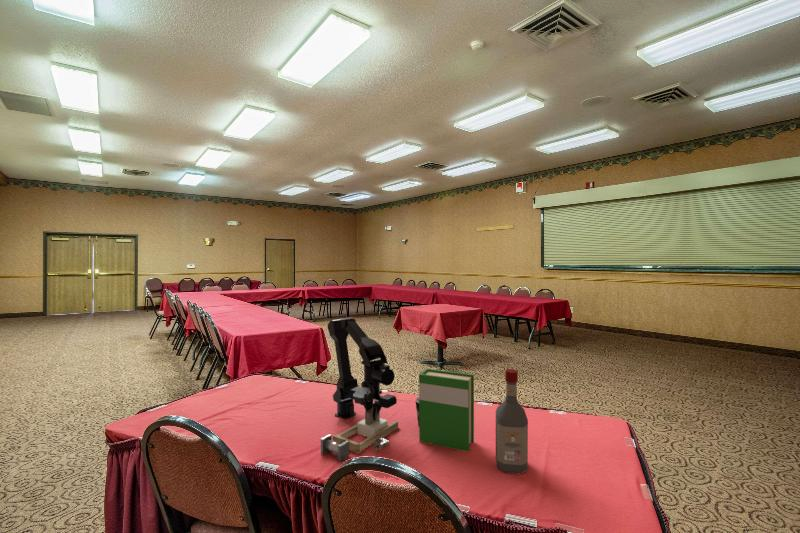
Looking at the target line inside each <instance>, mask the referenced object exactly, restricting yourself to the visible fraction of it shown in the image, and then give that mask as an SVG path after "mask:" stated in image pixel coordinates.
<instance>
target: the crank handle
mask: <svg viewBox="0 0 800 533" xmlns="http://www.w3.org/2000/svg"><path fill="white" fill-rule="evenodd" d="M389 444H390V441H389V440H387V439H386V438H384V437H383V438H381V437H379V438H378V440H375V443H374V446H373V448H374V451H379V450H381V449H383V448H384V447H386V446H388V445H389Z"/></svg>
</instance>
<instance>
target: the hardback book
mask: <svg viewBox="0 0 800 533" xmlns="http://www.w3.org/2000/svg"><path fill="white" fill-rule="evenodd" d="M418 397H419V426H418V428H419V433H418V434H419V435H418V437H419V443H420V442H422V443H425V444H430V443H431V444H430V445H434V444H435V446H439V447H444V448H449V449H454V450H458V451H463V452H467V453H468V452H469V451H470V444H474V442H475V416H474V414H475V374H474V373H473V374H472V373H463V372H457V371H450V370H442V369H434V368H425V369H424V370H423V371H422V372H420V373H419V374H418Z"/></svg>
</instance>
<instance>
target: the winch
mask: <svg viewBox="0 0 800 533" xmlns="http://www.w3.org/2000/svg"><path fill="white" fill-rule="evenodd" d="M328 452H332V453H334V454H336V455H337V461H338V462H342V461H344V460H346V459H347V458H348V457H347V456H349V457H350V451H349V441H345V442H343V443H342V444H340V443H337V442H335V441H333V435H332V434H330V433H329V434H326V435H325V436H323V437H321V438H320V454H322V455H324V454H326V453H328ZM346 457H347V458H346ZM345 458H346V459H345Z"/></svg>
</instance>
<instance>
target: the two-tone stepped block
mask: <svg viewBox="0 0 800 533" xmlns="http://www.w3.org/2000/svg"><path fill="white" fill-rule="evenodd" d="M380 413H381V411H380V412H379V414H378V417H377V419H376V420H375V421H374V419H373V408H371V409H369V410H368V411H366V410H365V411H364V419H361V420H360V421H358V422H357V423H356V424H357V433H356V434H358V435H360V434H361V436H363V435H365V436H364V437H366V436H367V438H368V437H370V436H371V435H373V434H375V433H376V432H378V431H380V430H381V429H383V428H385V427H386V426H388V425H389V424H388V419H384V418H381V414H380Z"/></svg>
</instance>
